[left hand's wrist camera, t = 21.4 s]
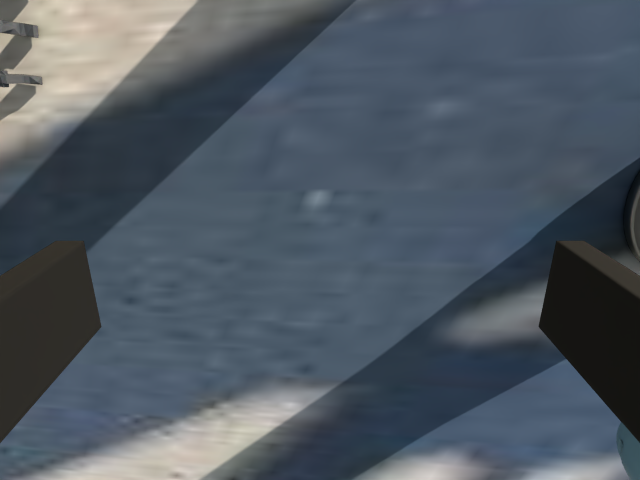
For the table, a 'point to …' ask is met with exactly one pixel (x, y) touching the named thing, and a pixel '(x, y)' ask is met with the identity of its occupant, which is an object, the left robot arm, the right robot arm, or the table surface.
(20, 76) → the toy
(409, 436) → the table surface
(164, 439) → the table surface
